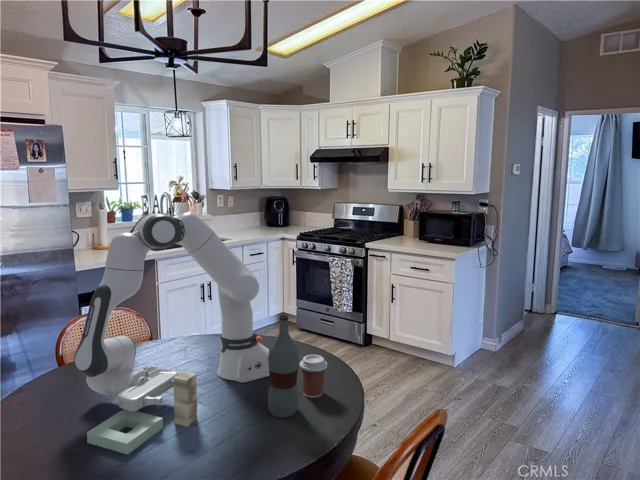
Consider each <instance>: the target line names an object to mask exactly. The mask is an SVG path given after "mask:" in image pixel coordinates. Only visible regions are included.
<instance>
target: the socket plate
mask: <svg viewBox="0 0 640 480" xmlns="http://www.w3.org/2000/svg"><path fill="white" fill-rule="evenodd" d="M126 427H127V428H129V429H131V430H130V431H128V432H127V433H125V432H122V430H123V429H124V428H126ZM163 428H164V418H163V417H161V416H157V415H153V414H150V413H145V412H141V411H138V410H137V411H133V412H131V411H128V410H125V409H123V408H122V410H120V411H119V412H117V413H115V414H114V415H112V416H110V417H109V418H108V419H106V420H104V421H103V422H101V423H99V424H98V425H96V426H95V427H93V428H91V429H90V430H88V431H87V432H86V438H87V439H86V441H87V444H89V445H90V444H91V445H93V446H96V445H97V446H96V447H101V448H103V449H107V450H111V451H114V452H117V453H121V454H124V455H127V456H128V455H130V454H131V453H132V452H133V451H134V450H136V449H137V448H138V447H139V446H141V445H142V444H144V443H145V442H146V441H148V440H149V439H151V437H153V436H155V435H156V434H157V433H158V432H160V431H161V430H162V429H163Z"/></svg>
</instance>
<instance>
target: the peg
mask: <svg viewBox="0 0 640 480" xmlns="http://www.w3.org/2000/svg"><path fill="white" fill-rule="evenodd" d="M173 381H174V388H173V409H174V411H173V412H174V414H173V415H174V425H179V426H183V427H186V428H189V426H191V425H192V424H193V423H195V422H196V421H197V420H198V395H197V394H198V393H197V391H198V389H197V387H198V386H197V385H198V384H197V383H198V382H197V374H196V373H193V372H188V371H182V372H180V373H179V374H178V375H177V376H175V377H174V378H173Z"/></svg>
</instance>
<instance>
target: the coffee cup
mask: <svg viewBox="0 0 640 480" xmlns="http://www.w3.org/2000/svg"><path fill="white" fill-rule="evenodd" d="M327 367H328V362H327V361H326V360H325V357H323V356H321V355H318V354H307V355H305V356H303V358H302V360H301V361H299V368H300V369H301V375H302V391H303V393H302V394H303V395H304V396H305V397H306V396H307V398H309V397H310V398H309V399H315V397H317V398H320V397H322V396H323V394H324V383H325V375H326V374H325V373H326V370H327ZM321 395H322V396H321ZM319 396H320V397H319Z"/></svg>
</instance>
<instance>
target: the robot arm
mask: <svg viewBox="0 0 640 480" xmlns="http://www.w3.org/2000/svg"><path fill="white" fill-rule="evenodd" d="M109 243H110V244H109V247H108V250H107V255H106V258H105V259H106V260H105V266H104V267H105V268H104V273H103V277H102V279H101V281H100V284H99V285H98V287H96V289H95V290H94V292H93V294H92V297H91V300H90V303H89V306H88V311H87V315H86V318H85V323H84V327H83V331H82V335H81V339H80V341H79V344H78V346H77V347H76V349H75V350H76V351H75V352H74V359H73V361H74V366H75V368H76V370H77V371H78V372H79V374H80V373H81V374H82V375H83V376H85V377H86V379H85V380H86V383H87V385H88V387H89V388H90V389H91V390H93V391H95V392H96V393H99V394H101V395H105V396H109V397H112V398H111V401H110V403H112V404H113V405H117V406H118V407H119V408H121V409H122V410H123V409H125V410H128V411H131V412H133V411H137V412H138V411H139V410H141V409H142V408H143V407H145V406H152V405H153V406H154V405H155V406H161V404H163V402H164V401H163V397H162V395H163V394H165V393H166V392H168V391H169V390H171V389H174V381H173V378H174V377H175V376H177V375H178V374H180V373H179V372H178V371H177V370H173V369H170V368H165V367H164V368H163V367H158V366H157V365H150V366H146V367H142V368H141V367H140V368H136V369H133V368H134V365H135V359H136V356H137V355H136V354H137V347H136V344H135V342H134V341H133V340H132V338H131V337H129V336H127V335H118V336H117V335H116V336H112V337H111V336H110V337H107V338H105V337H106V332H107V327H108V325H109V324H108V323H109V319H110V316H111V313H112V311H113V310H114V309H115V308H116V307H117V306H119V305H120V304H121V303H122V302H123V301H125V300H128V299H129V298H131V297H132V296H134V295H135V294H136V293H138V291H140V289H141V286H142V284H143V280H144V272H145V271H144V269H145V260H146V257H147V254H148V253H149V251H151V250H152V249H157V250H158V249H159V250H160V249H166V248H169V247H172V246H173V245H175V244H179V245H180V246H182V248H183V249H184V250H185V251H186V252H187V253H188V254H189V256H191V258H192V259H193V261H195V262H196V264H198V265H199V266H200V267H201V268H202V270H204V271H205V273H206V274H207V275H209V277H210V278H211V279H212V281H214V282H215V283H216V284H217V291H218V301H219V307H220V315H221V317H220V318H221V320H220V321H221V324H220V325H221V326H220V327H221V334H220V339H219V349H220V357H219V358H220V360H219V364H218V368H217V372H216V373H217V376H218V377H220V378H221V379H224V380H228V381H235V382H238V383H243V384H244V383H247V382H252V381H255V380H259V379H263V378H265V377H269V365H268V356H269V350H270V348H267V346H265V345H263V344H262V343H261V342H262V341H263V338H262V337H261V336H260V335H258V334H257V333H256V332H254V326H253V325H254V323H253V322H254V317H253V316H254V314H253V309H252V305H251V301H253V300H254V299H255V298H257V295H258V294H259V291H260V284H259V281H258V279H257V276H256V275H255V274H254V273H252V271H251V270H250V269H249V268H248V267H247V266H246V265H245V264H244V262H243V261H242V260H241V259H239V257H238V256H237V255H236V254H235V253H234V252H233V251H232V250H231V249H230V247H228V246H227V245H226V244H225V242H224V241H223V240H222V239H221V238H220V237H219V236H218V234H217V233H216V232H215V231H214V230H213V229H212V227H210V226H209V224H207V223H206V221H204V220H203V219H202V218H201V217H199V216H198V215H197V214H195V213H193V212H192V211H191V212H189V211H188V212H183V213H181V214H179V215H178V216H177V217H174V216H171V215H168V214H164V213H150V214H145V215H144V216H142V217H140V218H139V220H137V222H136V223H135V225H133V227H132V229H130V231H129V232H121V233H118V234H115V235H114V236H113V237H112V238H111V241H110V242H109Z"/></svg>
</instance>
